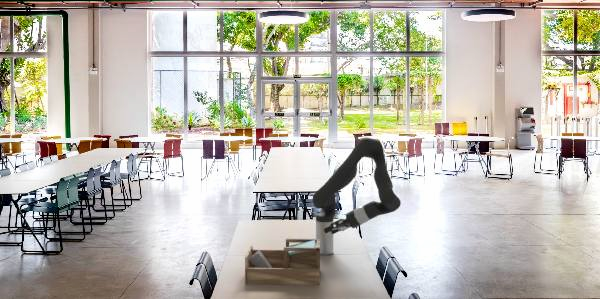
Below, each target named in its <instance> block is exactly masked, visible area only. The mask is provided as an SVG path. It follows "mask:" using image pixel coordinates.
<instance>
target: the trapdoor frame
mask: <svg viewBox="0 0 600 299" xmlns="http://www.w3.org/2000/svg"><path fill="white" fill-rule="evenodd" d="M313 240H315V242H316V243H317V245H316V243H315V247H290V243H296V244H299V243H304V242H308V241H313ZM253 246H254V245H253V244H250V246H249V248H248V250H247V252H246V255H245V256H244V269H245V270H244V283H245V284H246V285H248V284H249V285H295V286H296V285H299V286H300V285H301V286H302V285H306V286H310V285H311V286H312V285H313V286H319V285H320V283H321V281H320V279H321V276H320V273H321V254H320V239H316V238H286V239H285V246H283V249H272V248H271V249H269V248H268V249H267V248H265V249H261V248H260V249H259V248H257V249H256V248H254V247H253ZM259 250H260V251H261V253H262V254H263V255H264V257H265V258H266V259H267V261H268V262H269V263H270V265H271V266H272V267H273V268H256V267H255V266H254V265H253V263H252V262H251V261H250V257H251V256H252V255H253V254H255V253H256V252H257V251H259ZM289 251H305V252H300V253H296V254H291V255H289Z"/></svg>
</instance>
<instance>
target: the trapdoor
mask: <svg viewBox="0 0 600 299" xmlns="http://www.w3.org/2000/svg"><path fill="white" fill-rule="evenodd" d="M289 247H316V242H315V240H313V241H308V242H304V243H296V244H292V245H290V244H289ZM300 252H305V251H289V255H291V254H296V253H300Z"/></svg>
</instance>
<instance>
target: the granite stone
mask: <svg viewBox="0 0 600 299" xmlns="http://www.w3.org/2000/svg"><path fill="white" fill-rule="evenodd" d="M250 261H251V262H252V263H253V265H254V266H255V267H256V268H273V267H272V266H271V265H270V263H269V262H268V261H267V259H266V258H265V257H264V255H263V254H262V253H261V251H260V250H259V251H257V252H256V253H255V254H253V255H252V256H251V257H250Z"/></svg>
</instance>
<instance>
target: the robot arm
mask: <svg viewBox="0 0 600 299" xmlns="http://www.w3.org/2000/svg"><path fill="white" fill-rule="evenodd" d="M364 157H365V158H369V159H373V162H374V164H375V169H374V171H373V172H374V173H373V179H374V182H375V185H376V188H377V191H378V198H379V200H380V201H374V200H372V201H369V202H368V203H365V204H364V205H362V206H359V207H357V208H355V209H353V210H351V211H349V212H346V214H345V219H343V218H340V219H338V220H336V221H334V219H335V218H334V217H335V215H336V204H337V199H336V193H338V192H339V191H341V190H343V189H344V188H345V187H347V186H349V185H350V184H351V183H352V182H353V180H354V179H355V178H356V176H357V173H358V163H359V162H360V161H361V160H362V159H363V158H364ZM393 187H394V185H393V182H392V179H391V177H390V174H389V171H388V168H387V163H386V158H385V151H384V147H383V144H382V143H381V141H380V140H378V139H374V138H371V137H362V138H361V139H360V140H359V141H358V142H357V144H356V145H355V146H354V148H353V149H352V151H351V152H350V153H349V155H348V156H347V157H346V159H345V160H344V161H343V162H342V163H341V164H340V166H338V167H337V169H336V170H335V172H334V173H333V174H331V176H330V177H329V179H328V180H327V181H326V182H325V183H324V184H323V185H322V186H321V187H320V188H319V189H317V190H316V191H315V193H314V194H313V196H312V205H313V206H314V207H315V208H316V209H320V211H319V212H318V213H317V214H316V215H315V239H320V255H324V256H327V255H328V256H329V255H332V254H334V234H337V233H339V232H344V231H346V230H348V229H350V228H352V229H356V228H357V227H359V226H362V225H363V224H365V223H368V222H369V221H371V220H372V219H374V218H377V217H378V216H382V215H387V214H390V213H393V212H395V211H397V210H398V209H399V208H400V207H401V204H402V203H401V202H402V201H401V199H400V198H399V197H398V196H397V194H396V193H395V192H394V190H393ZM316 245H317V243H315V246H316Z"/></svg>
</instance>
